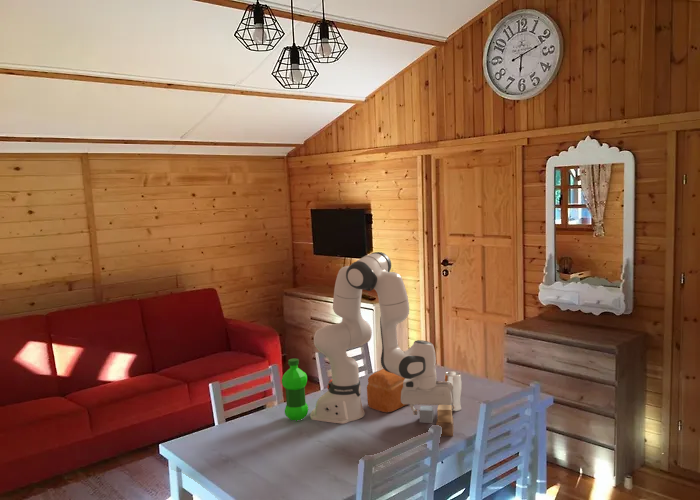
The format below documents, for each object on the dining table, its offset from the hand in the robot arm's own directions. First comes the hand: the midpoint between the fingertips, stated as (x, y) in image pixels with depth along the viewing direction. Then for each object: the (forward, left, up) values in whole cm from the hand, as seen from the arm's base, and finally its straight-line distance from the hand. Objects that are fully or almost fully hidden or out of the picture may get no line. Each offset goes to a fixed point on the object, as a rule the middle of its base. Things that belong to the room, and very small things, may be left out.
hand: (427, 414), depth 235 cm
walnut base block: (+8, -10, -3) cm, 13 cm away
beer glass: (+10, +14, -3) cm, 17 cm away
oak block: (+8, -10, +2) cm, 13 cm away
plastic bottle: (-53, -3, -3) cm, 54 cm away
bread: (-15, +20, -3) cm, 25 cm away
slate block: (0, +1, -3) cm, 3 cm away
